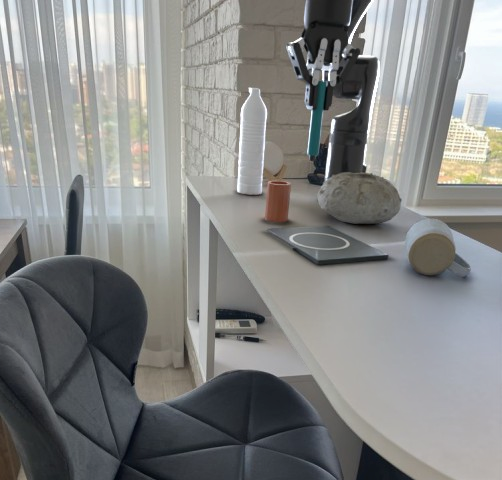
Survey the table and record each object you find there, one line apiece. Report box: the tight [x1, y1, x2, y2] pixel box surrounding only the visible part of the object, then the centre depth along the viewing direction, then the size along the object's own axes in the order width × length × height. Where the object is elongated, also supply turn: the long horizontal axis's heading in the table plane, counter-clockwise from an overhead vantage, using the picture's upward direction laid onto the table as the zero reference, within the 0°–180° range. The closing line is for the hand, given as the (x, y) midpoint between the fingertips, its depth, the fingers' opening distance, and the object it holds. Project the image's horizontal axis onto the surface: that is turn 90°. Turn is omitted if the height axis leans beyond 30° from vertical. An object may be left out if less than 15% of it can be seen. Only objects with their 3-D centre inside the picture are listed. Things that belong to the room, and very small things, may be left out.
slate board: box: [266, 225, 389, 266], centre depth 93 cm, size 14×20×1 cm
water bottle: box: [236, 87, 268, 196], centre depth 129 cm, size 9×6×25 cm
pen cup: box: [264, 180, 292, 223], centre depth 105 cm, size 5×5×8 cm
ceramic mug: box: [404, 218, 472, 278], centre depth 81 cm, size 11×8×8 cm
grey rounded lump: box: [317, 172, 403, 225], centre depth 109 cm, size 18×18×10 cm
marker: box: [306, 80, 326, 162], centre depth 89 cm, size 2×2×13 cm
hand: (317, 109), depth 88 cm, fingers closed on marker, 2 cm apart
